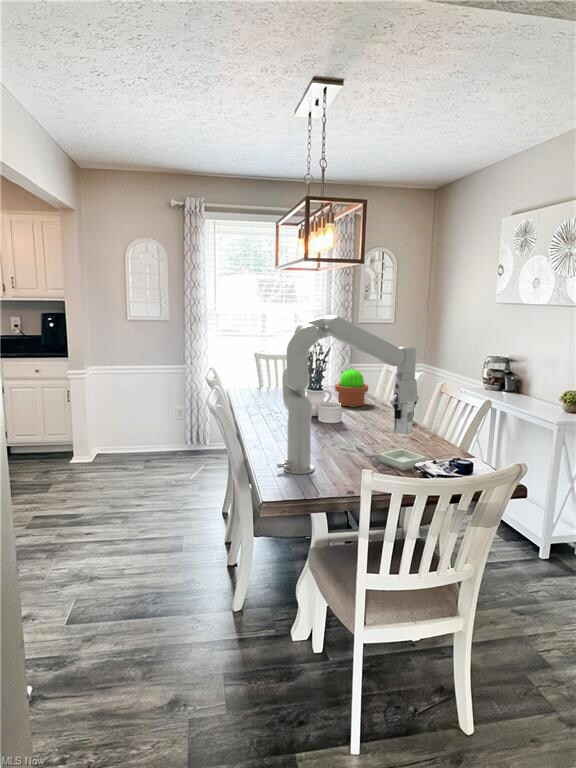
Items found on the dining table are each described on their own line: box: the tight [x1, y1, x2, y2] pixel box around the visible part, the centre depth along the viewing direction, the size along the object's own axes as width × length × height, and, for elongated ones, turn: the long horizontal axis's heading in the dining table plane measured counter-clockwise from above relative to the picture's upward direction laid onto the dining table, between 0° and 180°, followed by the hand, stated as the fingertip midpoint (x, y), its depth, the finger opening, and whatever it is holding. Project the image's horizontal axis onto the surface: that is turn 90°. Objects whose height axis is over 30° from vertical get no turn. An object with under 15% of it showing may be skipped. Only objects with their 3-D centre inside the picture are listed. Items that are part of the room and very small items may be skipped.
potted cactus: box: [334, 368, 369, 407], centre depth 321 cm, size 22×22×25 cm
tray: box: [378, 448, 427, 472], centre depth 205 cm, size 14×14×4 cm
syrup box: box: [393, 401, 415, 436], centre depth 202 cm, size 6×6×14 cm
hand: (404, 417), depth 202 cm, fingers closed on syrup box, 7 cm apart
